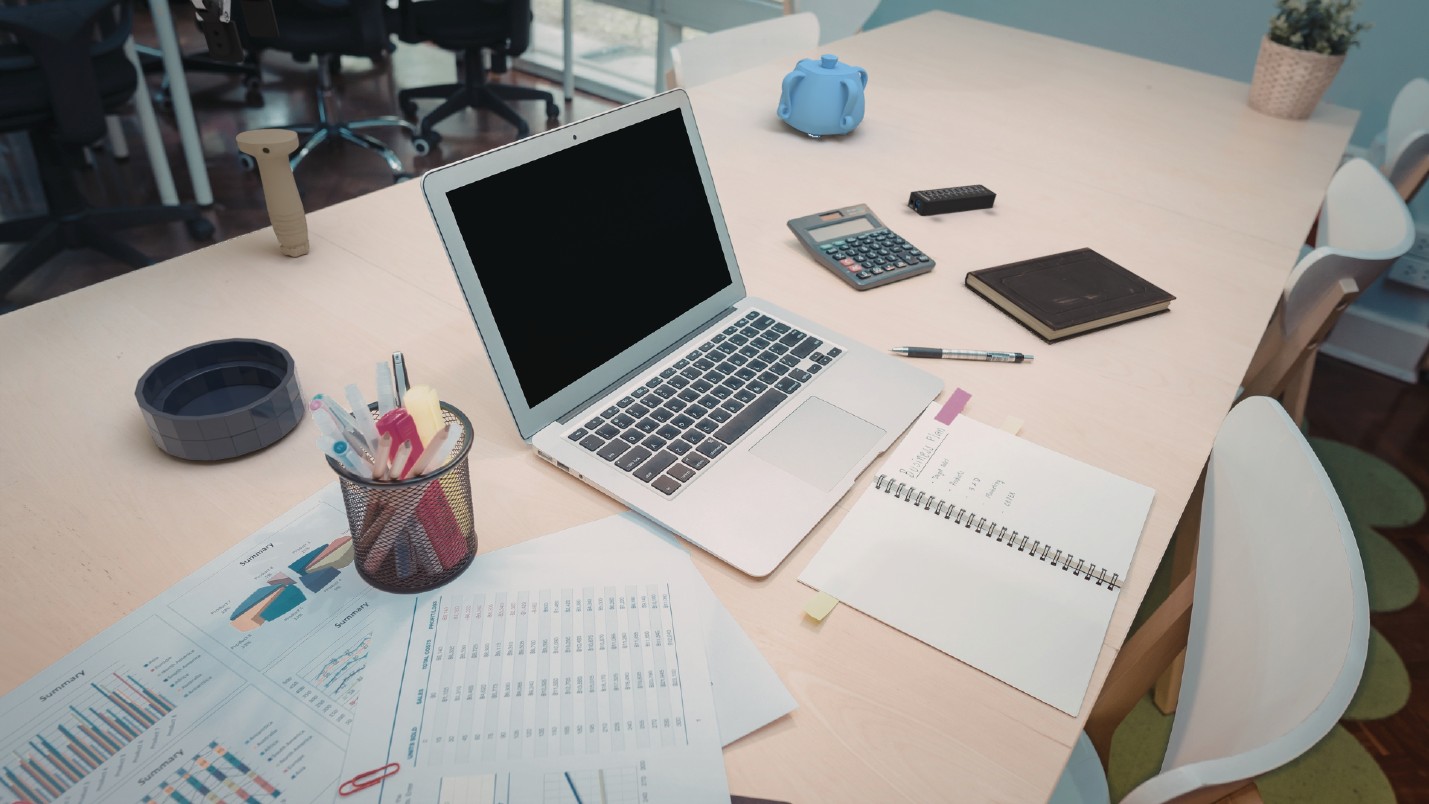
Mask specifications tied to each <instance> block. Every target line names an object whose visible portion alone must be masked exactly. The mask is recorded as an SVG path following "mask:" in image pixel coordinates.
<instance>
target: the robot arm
mask: <svg viewBox="0 0 1429 804" xmlns="http://www.w3.org/2000/svg"><path fill="white" fill-rule="evenodd" d="M188 3H189V5H190V7H191V8H192V10H194V12H195V17H196V20H197V21H198V22H200V25H201V28H202V32H203V35H204V38H205V42H206V47H207V49H208V53H209V56H210V58H211V60H212V61H214V62H220V63H221V62H222V63H223V62H224V63H239V64H241V63H243V62H244V61H245V53H244V50H243V46H242V43H241V39H240V34H239V31H238V28H237V24H236V21H235V20H231V6H232V5H231V3H232V0H218V4H217V3H216V2H215V1H214V0H189V1H188ZM239 3H240V5H241V9H242V15H243V18H244V21H245V25H246V28H247V32H248V35H249V36H250V37H252V38H262V39H277V38H279V37H280V30H279V26H278V21H277V18H276V14H275V10H274V5H273V2H272V0H239Z"/></svg>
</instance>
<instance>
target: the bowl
mask: <svg viewBox="0 0 1429 804" xmlns="http://www.w3.org/2000/svg"><path fill="white" fill-rule="evenodd" d="M136 382H137V383H136V386H135V390H134V398H135V399H136V402H137V404H138V407H139V409H140V411H141V414H142V416H143V418H144V421H145V423H146V425H147V427H148V429H149V432H150V434H151V436H152V438H153V441H154V443H155V445H156V446H157V447H158V448H160V449H161V450H163V451H164V452H165V453H167V454H168V455H171V456H175V457H177V458H180V459H181V458H182V459H186V460H189V461H218V460H223V459H231V458H236V457H240V456H243V455H246V454H249V453H252V452H255V451H258V450H261V449H264V448H266V447H268V446H270V445H271V444H274V443H275V442H277V441H278V440H280V439H282V438H284V436H286V435H287V434H288V433H289V432H290V431H291V430H293V429H294V428H295V427H296V426H297V425H298V424H299V422H300V420H301V419H302V417H303V415H304V413H305V411H306V397H305V393H304V390H303V387H302V383H301V379H300V376H299V373H298V368H297V365H296V362H295V359H294V358H293V357H292V355H291V353H290V352H289V351H288V350H287V349H286V348H283V347H282V346H280V345H278V344H277V343H275V342H271V341H269V340H263V339H260V338H250V337H249V338H248V337H246V338H245V337H231V338H224V339H223V338H222V339H213V340H209V341H205V342H201V343H198V344H193V345H189V346H187V347H185V348H182V349H179V350H177V351H175V352H173V353H172V352H171V354H168V355H166V356H164V357H163V358H162V359H161V358H160V360H158V361H157V362H155V363H154V364H152V365H150V366H149V367H148V368H147V370H146V371H144V372H143V374H142V375H141V376H140V378H139V379H138V380H137V381H136Z"/></svg>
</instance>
